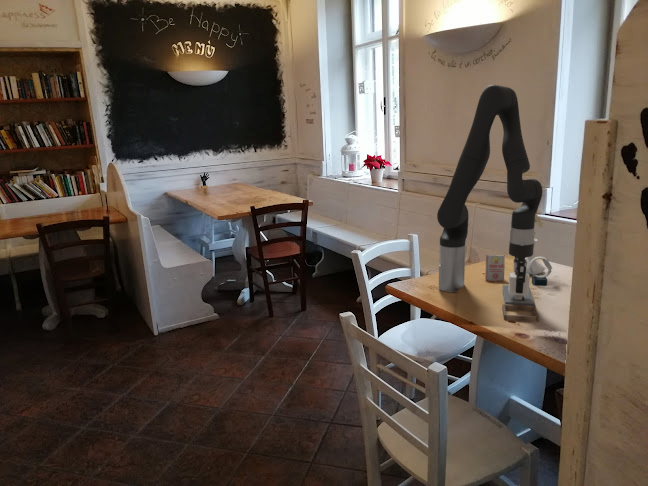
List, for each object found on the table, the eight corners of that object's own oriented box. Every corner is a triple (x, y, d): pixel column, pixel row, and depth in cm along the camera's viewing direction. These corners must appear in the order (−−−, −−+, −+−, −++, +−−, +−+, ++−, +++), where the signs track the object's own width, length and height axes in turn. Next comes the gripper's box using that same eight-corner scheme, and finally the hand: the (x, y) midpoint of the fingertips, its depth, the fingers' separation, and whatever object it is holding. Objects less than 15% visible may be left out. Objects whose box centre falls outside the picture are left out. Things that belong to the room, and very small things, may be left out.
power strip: (505, 311, 169) (505, 300, 168) (502, 294, 185) (502, 283, 184) (534, 313, 167) (534, 301, 166) (528, 295, 182) (529, 284, 181)
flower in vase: (544, 277, 200) (549, 215, 194) (514, 275, 204) (517, 214, 198) (543, 268, 212) (547, 209, 206) (514, 266, 216) (517, 208, 210)
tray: (503, 324, 160) (504, 315, 159) (502, 312, 169) (502, 304, 168) (537, 326, 157) (538, 317, 156) (534, 314, 166) (535, 306, 165)
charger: (508, 300, 169) (510, 277, 167) (507, 294, 174) (509, 272, 172) (528, 301, 168) (529, 278, 166) (526, 295, 172) (528, 273, 170)
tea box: (485, 277, 203) (486, 253, 201) (503, 278, 202) (504, 254, 199) (485, 280, 200) (486, 256, 197) (503, 281, 198) (505, 256, 196)
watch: (552, 287, 189) (554, 259, 187) (529, 287, 191) (531, 259, 188) (548, 282, 195) (550, 255, 192) (526, 282, 196) (528, 254, 193)
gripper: (508, 235, 173) (505, 282, 178) (510, 246, 160) (507, 296, 165) (531, 236, 171) (528, 283, 176) (536, 247, 158) (532, 298, 162)
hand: (518, 289), depth 170 cm, fingers closed on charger, 5 cm apart
